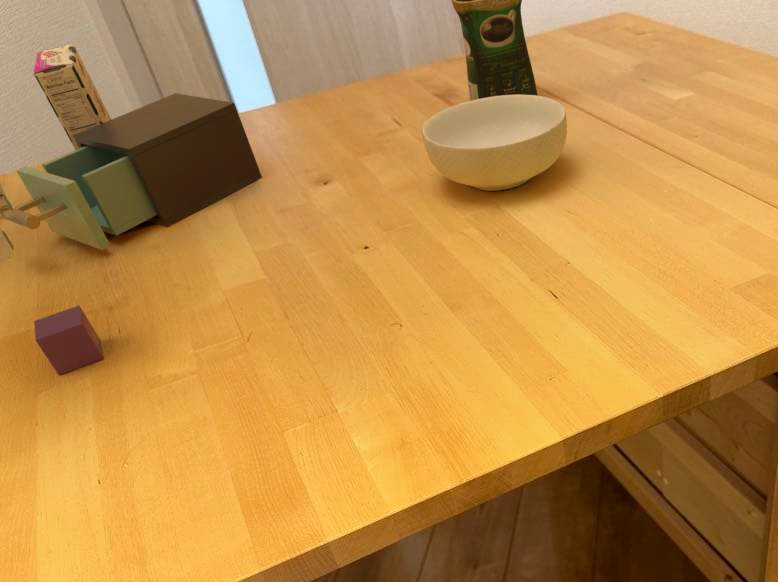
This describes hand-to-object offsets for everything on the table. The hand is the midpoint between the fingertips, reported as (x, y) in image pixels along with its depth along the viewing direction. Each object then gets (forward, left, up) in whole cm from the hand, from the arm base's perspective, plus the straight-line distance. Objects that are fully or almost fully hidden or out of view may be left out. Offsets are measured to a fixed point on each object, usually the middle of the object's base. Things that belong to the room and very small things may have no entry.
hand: (4, 235), depth 64 cm
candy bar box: (-39, +27, -13) cm, 49 cm away
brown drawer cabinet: (-23, +28, -13) cm, 38 cm away
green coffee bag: (0, +67, -13) cm, 68 cm away
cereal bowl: (+15, +47, -13) cm, 51 cm away
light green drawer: (-23, +17, -12) cm, 31 cm away
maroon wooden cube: (0, 0, -13) cm, 13 cm away
